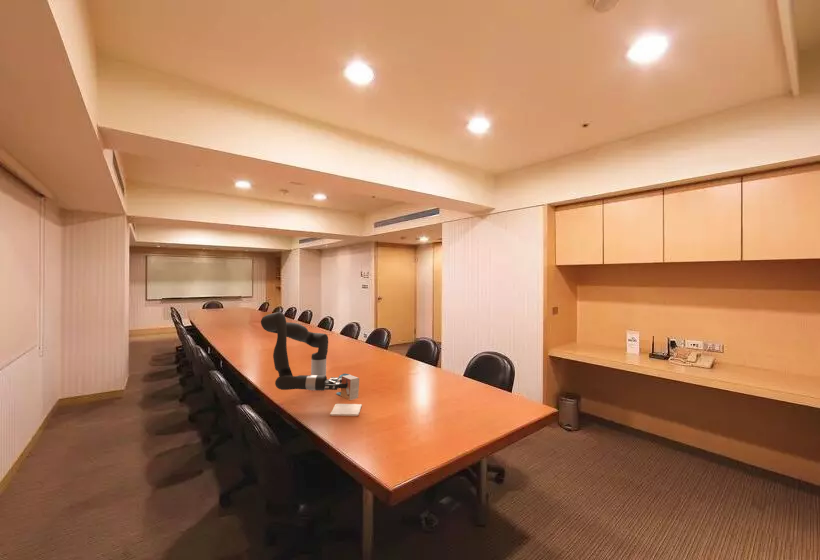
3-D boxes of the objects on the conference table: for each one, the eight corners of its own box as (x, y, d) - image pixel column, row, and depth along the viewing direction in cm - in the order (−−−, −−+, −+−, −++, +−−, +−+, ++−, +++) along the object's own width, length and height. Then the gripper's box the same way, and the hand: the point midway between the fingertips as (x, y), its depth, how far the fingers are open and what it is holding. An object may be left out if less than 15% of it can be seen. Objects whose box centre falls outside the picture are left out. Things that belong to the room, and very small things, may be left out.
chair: (342, 398, 193) (343, 377, 193) (336, 394, 200) (336, 373, 200) (354, 395, 198) (355, 375, 198) (347, 391, 205) (348, 371, 205)
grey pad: (335, 405, 182) (335, 403, 182) (361, 405, 182) (361, 404, 182) (330, 415, 168) (330, 413, 168) (358, 416, 168) (358, 414, 168)
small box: (340, 396, 175) (341, 376, 175) (349, 394, 179) (350, 374, 179) (349, 400, 169) (350, 379, 169) (358, 398, 173) (359, 377, 173)
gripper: (312, 379, 168) (345, 380, 168) (320, 371, 182) (350, 372, 182) (312, 394, 168) (345, 395, 168) (319, 385, 182) (350, 386, 182)
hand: (348, 383), depth 175 cm, fingers closed on small box, 7 cm apart
